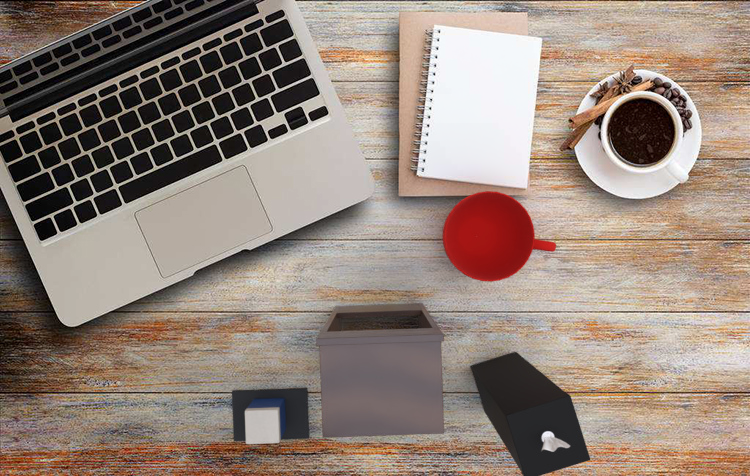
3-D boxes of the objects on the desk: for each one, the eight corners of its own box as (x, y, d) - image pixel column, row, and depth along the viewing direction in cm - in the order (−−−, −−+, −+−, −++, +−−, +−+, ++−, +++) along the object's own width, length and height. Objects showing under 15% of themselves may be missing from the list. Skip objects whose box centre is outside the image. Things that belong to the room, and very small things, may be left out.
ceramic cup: (534, 286, 87) (554, 292, 77) (430, 269, 88) (437, 274, 78) (547, 206, 87) (569, 202, 77) (443, 190, 87) (451, 184, 77)
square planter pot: (425, 377, 88) (447, 443, 60) (338, 380, 88) (319, 448, 60) (422, 303, 88) (443, 334, 60) (335, 306, 88) (315, 338, 60)
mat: (309, 437, 88) (308, 438, 87) (234, 440, 88) (233, 441, 87) (307, 387, 88) (306, 388, 87) (232, 390, 88) (231, 391, 87)
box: (286, 428, 87) (279, 443, 81) (254, 430, 87) (245, 444, 81) (284, 397, 87) (278, 409, 81) (253, 398, 87) (244, 410, 81)
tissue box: (469, 365, 88) (512, 425, 60) (516, 350, 88) (581, 403, 60) (484, 411, 88) (533, 493, 60) (530, 397, 87) (602, 472, 59)
